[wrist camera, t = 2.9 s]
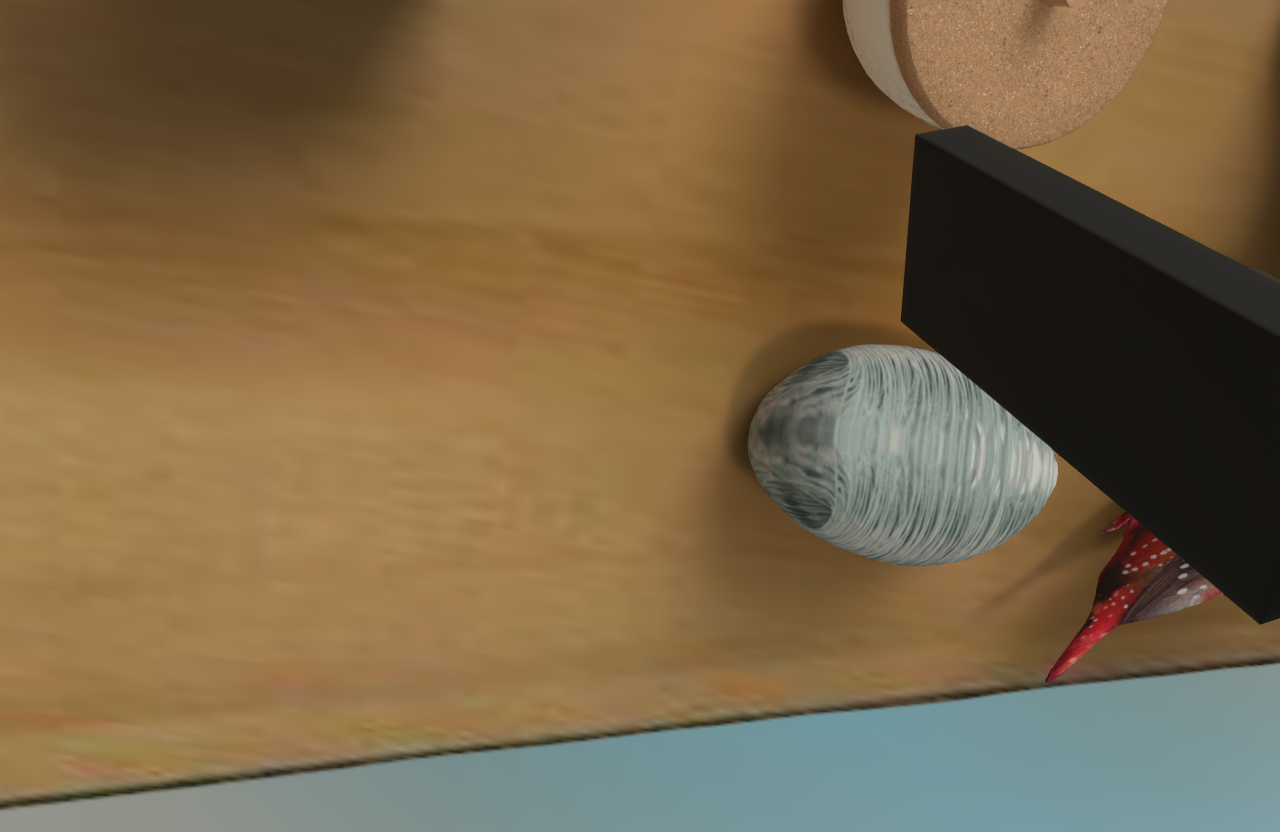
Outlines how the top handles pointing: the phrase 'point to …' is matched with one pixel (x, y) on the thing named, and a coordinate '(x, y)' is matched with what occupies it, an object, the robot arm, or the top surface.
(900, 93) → the trinket box
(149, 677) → the top surface
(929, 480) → the spool
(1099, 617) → the decorative bird figurine
